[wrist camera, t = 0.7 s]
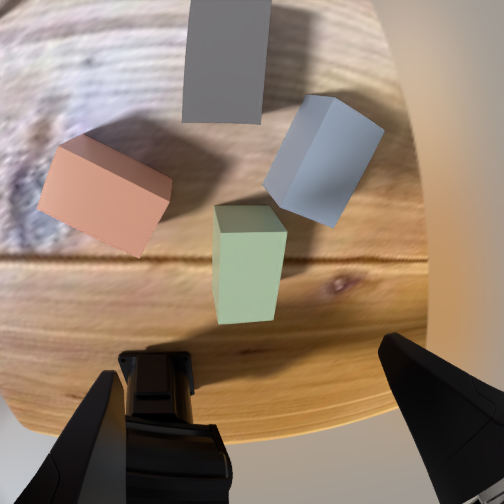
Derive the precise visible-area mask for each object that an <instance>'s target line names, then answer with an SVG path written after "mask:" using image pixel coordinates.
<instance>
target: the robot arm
mask: <svg viewBox="0 0 504 504" xmlns="http://www.w3.org/2000/svg"><path fill="white" fill-rule="evenodd" d="M378 356H379V359H380V362H381V364H382V367H383V370H384V372H385V375H386V378H387V381H388V384H389V386H390V389H391V391H392V393H393V395H394V398H395V400H396V402H397V404H398V406H399V408H400V410H401V412H402V415H403V417H404V419H405V421H406V423H407V425H408V427H409V430H410V432H411V434H412V437H413V439H414V441H415V444H416V446H417V448H418V450H419V453H420V455H421V457H422V460H423V462H424V465H425V467H426V469H427V472H428V473H429V474H428V475H429V477H430V480H431V482H432V484H433V487H434V489H435V492H436V495H437V497H438V500H439V503H440V504H463V503H464V502H466V501H468V500H470V499H472V498H473V497H475V496H477V498H476V499H475V500H474V501H473V502H471V503H470V504H504V392H503V391H501V390H498V389H496V388H494V387H492V386H490V385H488V384H486V383H484V382H482V381H481V380H479V379H477V378H475V377H473V376H472V375H469V374H468V373H466V372H465V371H463V370H461V369H459V368H458V367H456V366H454V365H452V364H451V363H449V362H447V361H445V360H444V359H442V358H440V357H438V356H437V355H435V354H433V353H431V352H430V351H428V350H426V349H424V348H423V347H421V346H419V345H417V344H416V343H414V342H412V341H410V340H409V339H407V338H405V337H403V336H402V335H400V334H398V333H396V332H392V333H388V334H386V335H385V336H384V337H383V340H382V342H381V344H380V347H379V349H378ZM118 361H119V364H120V367H121V370H122V373H123V375H124V378H125V380H126V383H127V400H126V415H125V407H124V390H123V386H122V383H121V381H120V379H119V376H118V374H117V372H116V371H115V370H104V371H102V372H101V374H100V375H99V377H98V378H97V380H96V381H95V382H94V384H93V385H92V387H91V388H90V390H89V391H88V393H87V394H86V396H85V397H84V399H83V400H82V402H81V403H80V405H79V406H78V408H77V409H76V411H75V413H74V414H73V416H72V417H71V419H70V420H69V422H68V423H67V425H66V426H65V428H64V430H63V431H62V433H61V434H60V436H59V438H58V439H57V441H56V442H55V444H54V446H53V447H52V449H51V451H50V453H49V454H48V455H47V457H46V459H45V460H44V462H43V463H42V465H41V467H40V468H39V470H38V471H37V473H36V474H35V476H34V477H33V478H32V480H31V481H30V483H29V484H28V485H27V487H26V488H25V489H24V490H23V492H22V493H21V494H20V496H19V497H18V498H17V500H16V501H15V502H14V504H229V490H230V487H231V484H232V478H233V472H232V465H231V461H230V458H229V456H228V453H227V451H226V448H225V446H224V443H223V441H222V438H221V436H220V433H219V431H218V428H217V426H216V424H209V425H201V424H193V416H192V407H191V398H190V396H191V395H194V393H195V391H194V383H193V374H192V364H191V355H190V353H188V352H170V353H122V354H119V356H118Z"/></svg>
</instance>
